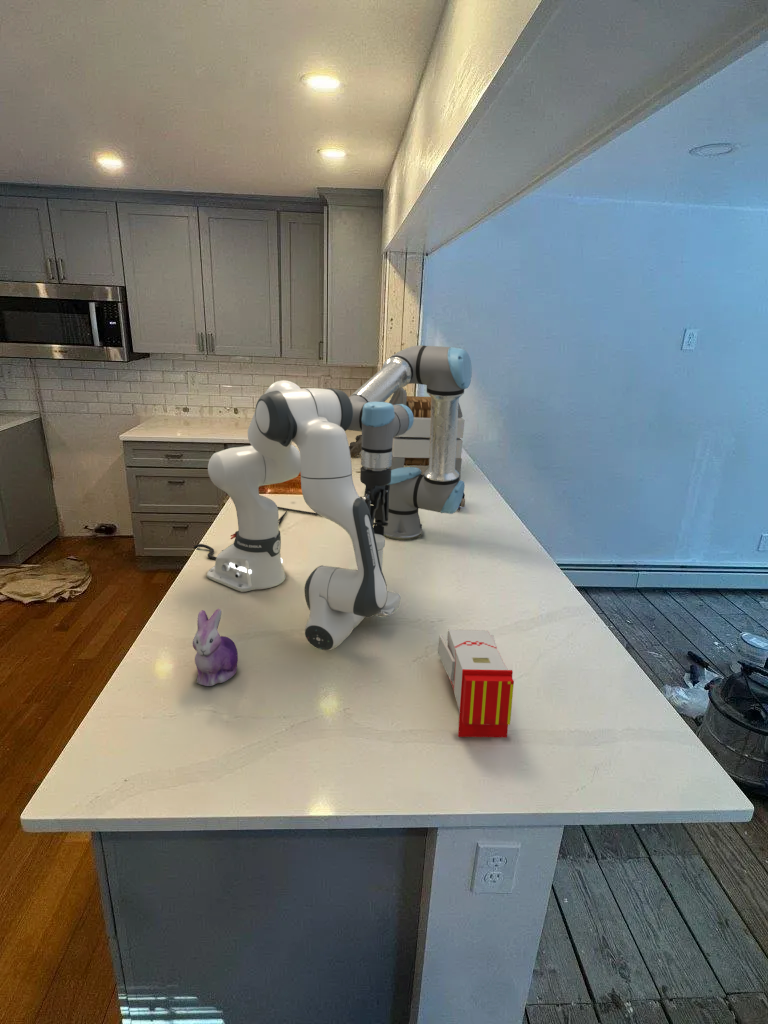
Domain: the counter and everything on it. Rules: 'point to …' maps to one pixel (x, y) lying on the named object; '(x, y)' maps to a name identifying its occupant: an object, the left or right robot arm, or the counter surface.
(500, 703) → the toy
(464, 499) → the figurine character
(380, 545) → the lid
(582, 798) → the counter surface
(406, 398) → the stacking storage bins
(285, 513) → the feather
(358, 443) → the fossil
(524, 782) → the counter surface
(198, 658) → the figurine
